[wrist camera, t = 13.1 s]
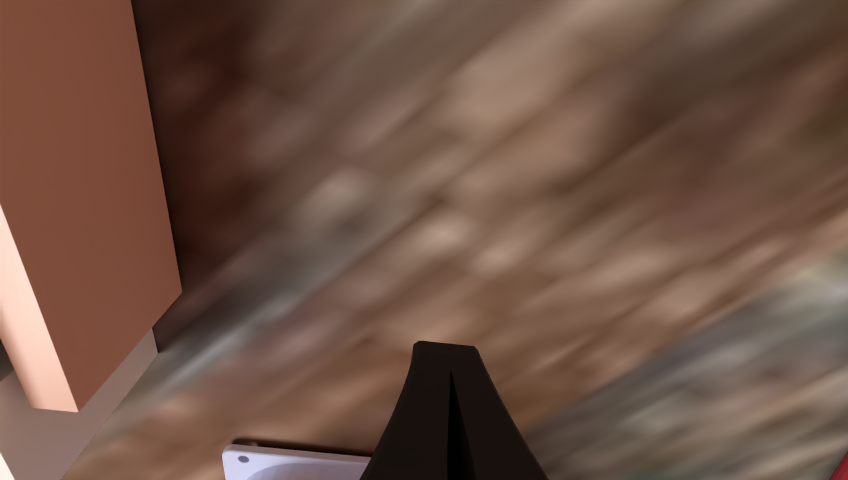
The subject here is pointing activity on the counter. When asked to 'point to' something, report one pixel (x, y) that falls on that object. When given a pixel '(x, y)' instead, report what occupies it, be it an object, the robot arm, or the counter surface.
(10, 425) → the cabinet
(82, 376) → the drawer
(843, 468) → the smartphone
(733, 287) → the counter surface
